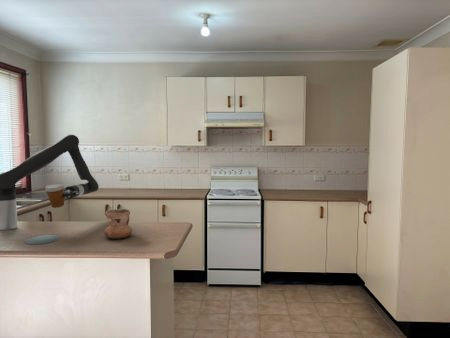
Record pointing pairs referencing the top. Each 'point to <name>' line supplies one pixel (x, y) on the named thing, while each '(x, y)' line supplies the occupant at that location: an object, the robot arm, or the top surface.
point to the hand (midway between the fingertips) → (56, 195)
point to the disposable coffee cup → (55, 194)
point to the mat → (42, 239)
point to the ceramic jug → (118, 224)
